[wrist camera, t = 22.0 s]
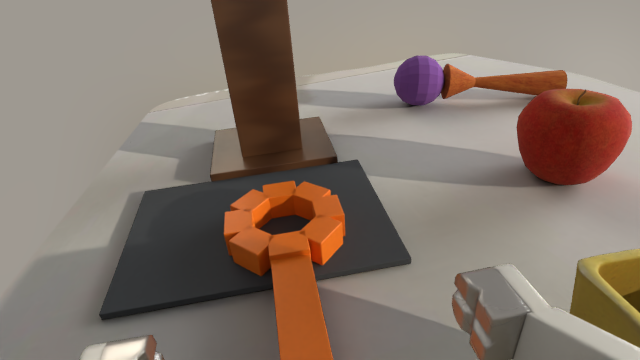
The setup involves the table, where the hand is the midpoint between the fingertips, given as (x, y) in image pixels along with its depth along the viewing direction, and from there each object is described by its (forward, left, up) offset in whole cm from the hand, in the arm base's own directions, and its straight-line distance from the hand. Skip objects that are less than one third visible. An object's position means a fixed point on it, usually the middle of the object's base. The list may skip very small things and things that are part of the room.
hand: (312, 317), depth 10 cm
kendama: (+26, +36, -11) cm, 46 cm away
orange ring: (0, +11, -10) cm, 15 cm away
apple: (+24, +18, -11) cm, 32 cm away
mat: (-2, +18, -11) cm, 21 cm away
